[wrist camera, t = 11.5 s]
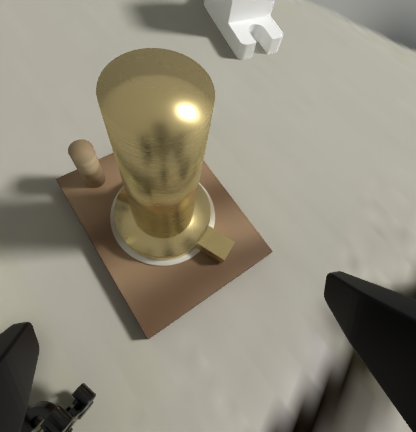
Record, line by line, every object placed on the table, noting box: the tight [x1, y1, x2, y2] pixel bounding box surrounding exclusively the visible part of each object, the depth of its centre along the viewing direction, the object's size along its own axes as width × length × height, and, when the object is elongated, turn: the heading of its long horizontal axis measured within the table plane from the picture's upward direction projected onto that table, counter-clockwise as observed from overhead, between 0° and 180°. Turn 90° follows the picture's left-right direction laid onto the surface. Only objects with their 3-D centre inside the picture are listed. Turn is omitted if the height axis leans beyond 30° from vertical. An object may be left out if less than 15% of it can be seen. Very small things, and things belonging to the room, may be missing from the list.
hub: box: [96, 48, 235, 264], centre depth 17 cm, size 9×7×12 cm
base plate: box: [56, 140, 273, 339], centre depth 21 cm, size 14×11×5 cm
